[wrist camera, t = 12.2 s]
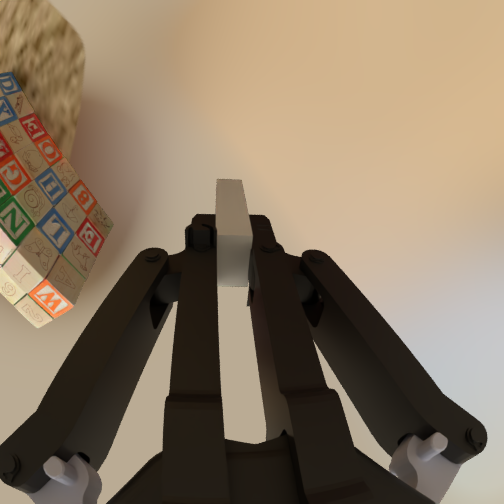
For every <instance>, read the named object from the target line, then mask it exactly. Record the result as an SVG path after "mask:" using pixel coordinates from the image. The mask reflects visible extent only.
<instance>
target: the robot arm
mask: <svg viewBox="0 0 504 504" xmlns="http://www.w3.org/2000/svg"><path fill="white" fill-rule="evenodd" d="M185 245H186V247H185V250H183V251H182V252H180V253H177V254H173V255H168V253H167V252H166V251H165V250H164V249H161V248H148V249H145V250H143V251H141V252H140V253H139V254H138V255H137V256H136V258H135V259H134V260H133V262H132V263H131V264H130V266H129V267H128V268H127V270H126V271H125V272H124V274H123V275H122V276H121V278H120V279H119V280H118V282H117V283H116V285H115V286H114V287H113V289H112V290H111V291H110V293H109V294H108V296H107V297H106V298H105V300H104V301H103V303H102V304H101V306H100V307H99V308H98V310H97V311H96V313H95V314H94V316H93V317H92V319H91V321H90V322H89V323H88V325H87V326H86V328H85V329H84V331H83V333H82V334H81V335H80V337H79V339H78V340H77V342H76V343H75V345H74V346H73V348H72V350H71V351H70V353H69V355H68V356H67V358H66V359H65V361H64V363H63V364H62V366H61V368H60V369H59V371H58V373H57V375H56V376H55V378H54V380H53V381H52V383H51V385H50V387H49V388H48V390H47V392H46V394H45V396H44V397H43V399H42V401H41V403H40V405H39V407H38V409H37V411H36V412H35V413H34V414H32V415H31V416H30V417H29V418H28V419H27V420H26V421H25V422H24V423H23V424H22V425H21V426H20V427H19V428H18V429H17V430H16V431H15V432H14V433H13V434H12V435H11V436H9V437H8V438H7V439H6V440H5V441H4V442H3V443H2V444H1V445H0V479H1V480H2V481H3V482H4V483H5V484H7V485H9V486H11V487H13V488H16V489H18V490H20V491H23V492H24V493H26V494H27V495H29V497H30V498H31V499H32V500H33V502H35V504H97V499H98V497H99V495H100V493H101V490H102V482H101V479H100V476H99V474H98V473H97V471H98V470H99V468H100V467H101V465H102V464H103V462H104V460H105V459H106V457H107V455H108V453H109V450H110V448H111V446H112V444H113V441H114V438H115V436H116V433H117V431H118V428H119V426H120V423H121V421H122V418H123V416H124V413H125V411H126V409H127V407H128V404H129V402H130V399H131V397H132V395H133V392H134V390H135V388H136V385H137V383H138V381H139V379H140V376H141V374H142V372H143V369H144V367H145V365H146V363H147V360H148V358H149V356H150V354H151V352H152V349H153V347H154V345H155V343H156V340H157V338H158V336H159V334H160V332H161V330H162V328H163V325H164V323H165V321H166V319H167V317H168V315H169V313H170V311H171V309H172V307H173V302H176V301H178V305H177V314H176V324H175V332H174V343H173V353H172V364H171V377H170V390H169V396H167V397H166V401H165V409H164V426H163V451H162V452H160V453H158V454H156V455H155V456H154V457H153V458H151V459H150V460H149V461H148V462H147V463H146V464H145V465H144V466H143V467H142V468H141V469H140V470H139V471H138V472H137V473H136V474H135V475H134V477H132V479H130V480H129V481H128V482H127V484H125V485H124V486H123V487H122V488H121V489H120V490H119V491H118V492H117V493H116V495H114V496H113V497H112V498H111V499H110V500H109V501H108V502H107V503H106V504H439V503H440V502H441V500H442V498H443V497H444V495H445V494H446V492H447V490H448V489H449V487H450V485H451V483H452V482H453V480H454V478H455V476H456V474H457V473H458V471H459V469H460V467H461V465H462V464H463V463H464V462H466V461H467V460H469V459H471V458H473V457H474V456H476V455H477V454H479V453H481V452H482V451H483V450H484V448H485V446H486V443H487V432H486V429H485V427H484V426H483V424H482V423H481V422H480V421H478V420H477V419H476V418H475V417H473V416H472V415H470V414H469V413H468V412H467V411H465V410H464V409H463V408H461V407H460V406H458V405H457V404H456V403H454V402H453V401H452V400H451V399H449V398H448V397H447V396H445V395H444V394H443V393H442V392H441V390H440V389H439V388H438V386H437V385H436V384H435V382H434V381H433V380H432V378H431V377H430V376H429V374H428V373H427V372H426V371H425V369H424V368H423V367H422V365H421V364H420V363H419V362H418V360H417V359H416V358H415V357H414V355H413V354H412V353H411V351H410V350H409V349H408V348H407V346H406V345H405V344H404V343H403V341H402V340H401V339H400V338H399V336H398V335H397V334H396V333H395V332H394V330H393V329H392V328H391V327H390V325H389V324H388V323H387V322H386V321H385V319H384V318H383V317H382V316H381V315H380V313H379V312H378V311H377V310H376V309H375V308H374V306H373V305H372V304H371V303H370V302H369V301H368V300H367V298H366V297H365V296H364V295H363V294H362V293H361V291H360V290H359V289H358V288H357V287H356V286H355V284H354V283H353V282H352V281H351V280H350V279H349V278H348V276H347V275H346V274H345V273H344V272H343V271H342V270H341V269H340V268H339V266H338V265H337V264H336V263H335V262H334V261H333V260H332V259H331V258H330V256H328V255H327V254H326V253H324V252H322V251H319V250H306V251H305V252H303V253H302V257H298V256H293V255H290V254H287V253H285V251H284V249H283V247H282V246H281V245H280V244H279V243H277V242H276V239H275V236H274V233H273V230H272V227H271V223H270V220H269V219H268V218H267V217H266V216H265V215H249V214H248V209H247V204H246V199H245V194H244V190H243V184H242V180H232V179H217V187H216V214H196V215H195V216H194V218H192V223H191V224H190V225H189V226H187V227H186V229H185ZM248 280H249V291H248V301H247V306H249V305H250V311H251V319H252V327H253V334H254V341H255V348H256V356H257V363H258V371H259V378H260V385H261V392H262V399H263V406H264V413H265V420H266V429H267V430H266V441H265V442H262V443H259V444H250V443H244V442H238V441H233V440H228V439H225V437H224V423H223V407H222V397H221V381H220V359H219V334H218V296H217V286H222V287H229V286H230V287H247V286H248ZM313 340H314V341H313ZM314 342H315V343H316V345H317V346H318V348H319V350H320V351H321V353H322V354H323V356H324V358H325V359H326V361H327V362H328V364H329V366H330V367H331V369H332V370H333V372H334V374H335V375H336V377H337V379H338V380H339V382H340V383H341V385H342V387H343V388H344V389H345V391H346V393H347V395H348V396H349V398H350V400H351V401H352V403H353V404H354V406H355V408H356V409H357V411H358V412H359V414H360V416H361V417H362V419H363V421H364V422H365V424H366V425H367V427H368V429H369V430H370V432H371V434H372V435H373V436H374V438H375V439H376V441H377V442H378V444H379V445H380V446H381V447H382V448H383V449H384V450H385V451H386V452H387V454H389V455H390V456H391V457H392V460H391V464H390V465H389V470H390V472H389V471H387V470H386V469H384V468H383V467H382V466H380V465H379V464H377V463H376V462H374V461H373V460H372V459H371V458H369V457H368V456H366V455H365V454H364V453H362V452H361V451H360V450H358V449H357V448H356V447H354V444H353V441H352V437H351V434H350V431H349V427H348V424H347V420H346V417H345V413H344V410H343V407H342V403H341V400H340V398H339V395H338V393H337V392H336V391H335V390H334V389H329V388H328V387H327V384H326V381H325V378H324V375H323V371H322V368H321V364H320V361H319V358H318V354H317V351H316V348H315V345H314ZM396 476H398V478H397V477H396Z"/></svg>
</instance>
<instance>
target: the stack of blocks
mask: <svg viewBox="0 0 504 504" xmlns="http://www.w3.org/2000/svg"><path fill="white" fill-rule="evenodd" d="M112 227H113V222H112V221H111V220H110V218H109V217H108V216H107V214H106V213H105V212H104V211H103V209H102V208H101V207H100V205H99V204H98V203H97V201H96V199H95V198H94V196H93V195H92V194H91V192H90V191H89V190H88V188H87V187H86V186H85V184H84V183H83V182H82V180H80V178H79V176H78V175H77V173H76V172H75V170H74V169H73V168H72V166H71V165H70V163H69V162H68V161H67V159H66V158H65V157H63V155H62V153H61V152H60V151H59V149H58V148H57V146H56V145H55V143H54V142H53V140H52V139H51V137H50V136H49V135H48V134H47V132H46V131H45V129H44V127H43V126H42V124H41V122H40V121H39V119H38V118H37V116H36V115H35V114H34V110H33V108H32V106H31V105H30V103H29V101H28V100H27V98H26V96H25V94H24V93H23V92H22V90H21V88H20V86H19V84H18V82H17V81H16V79H15V77H14V75H13V73H12V72H7V73H1V74H0V292H1V294H2V295H3V296H4V297H5V298H6V299H7V300H8V301H9V302H10V303H11V304H13V305H14V307H15V308H16V309H17V310H18V311H19V312H20V313H21V314H22V315H23V316H24V317H25V318H26V319H27V320H28V321H29V322H31V323H32V324H33V325H34V326H35V327H36V328H40V327H41V326H43V325H45V324H47V323H48V322H50V321H52V320H53V319H54V318H56V317H58V316H60V315H62V314H63V313H65V312H66V311H68V310H69V309H71V308H73V307H74V306H75V303H76V301H77V299H78V296H79V294H80V291H81V289H82V287H83V284H84V282H85V281H86V280H87V278H88V275H89V273H90V271H91V269H92V267H93V265H94V262H95V260H96V257H97V255H98V253H99V251H100V249H101V247H102V245H103V243H104V240H105V239H106V238H107V236H108V234H109V232H110V230H111V228H112Z"/></svg>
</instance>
